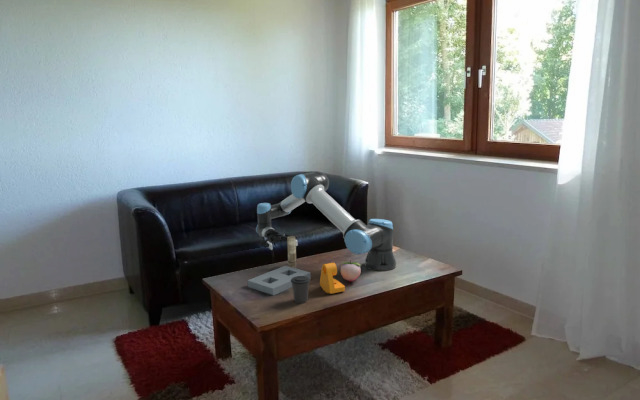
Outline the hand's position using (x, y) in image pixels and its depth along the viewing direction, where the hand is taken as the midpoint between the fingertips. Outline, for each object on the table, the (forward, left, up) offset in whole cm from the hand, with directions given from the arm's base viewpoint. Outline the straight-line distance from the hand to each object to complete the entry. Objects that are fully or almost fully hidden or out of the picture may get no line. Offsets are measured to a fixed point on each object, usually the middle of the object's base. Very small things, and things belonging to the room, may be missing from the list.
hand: (284, 245), depth 245 cm
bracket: (-43, +15, -9) cm, 46 cm away
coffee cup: (-40, +32, -9) cm, 52 cm away
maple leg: (-9, +4, -8) cm, 13 cm away
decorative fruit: (-44, +3, -9) cm, 45 cm away
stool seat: (-19, +23, -8) cm, 31 cm away
